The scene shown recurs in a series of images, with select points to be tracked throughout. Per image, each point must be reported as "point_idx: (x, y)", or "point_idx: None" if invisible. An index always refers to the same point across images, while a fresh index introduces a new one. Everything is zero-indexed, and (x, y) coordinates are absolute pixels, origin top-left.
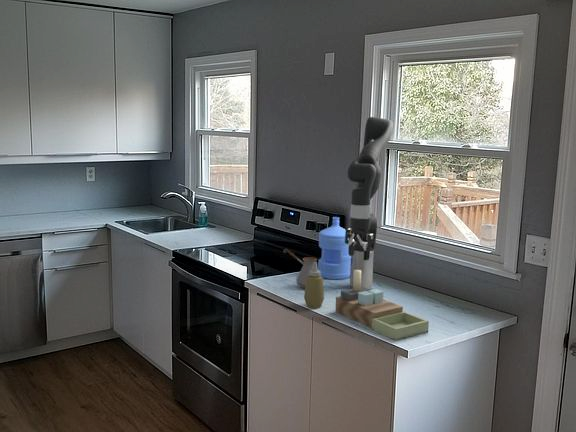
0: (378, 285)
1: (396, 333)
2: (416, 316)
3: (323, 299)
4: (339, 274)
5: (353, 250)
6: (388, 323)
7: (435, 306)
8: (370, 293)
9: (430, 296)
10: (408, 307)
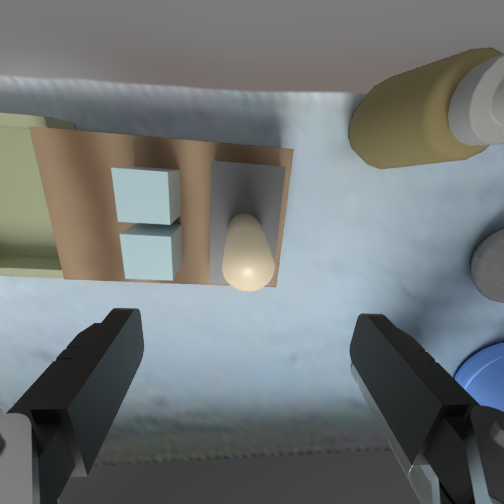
0: (357, 401)
1: None
2: (16, 274)
3: (356, 151)
4: (475, 374)
5: (378, 393)
6: None
7: (161, 399)
8: (129, 213)
9: (222, 432)
10: (189, 350)
